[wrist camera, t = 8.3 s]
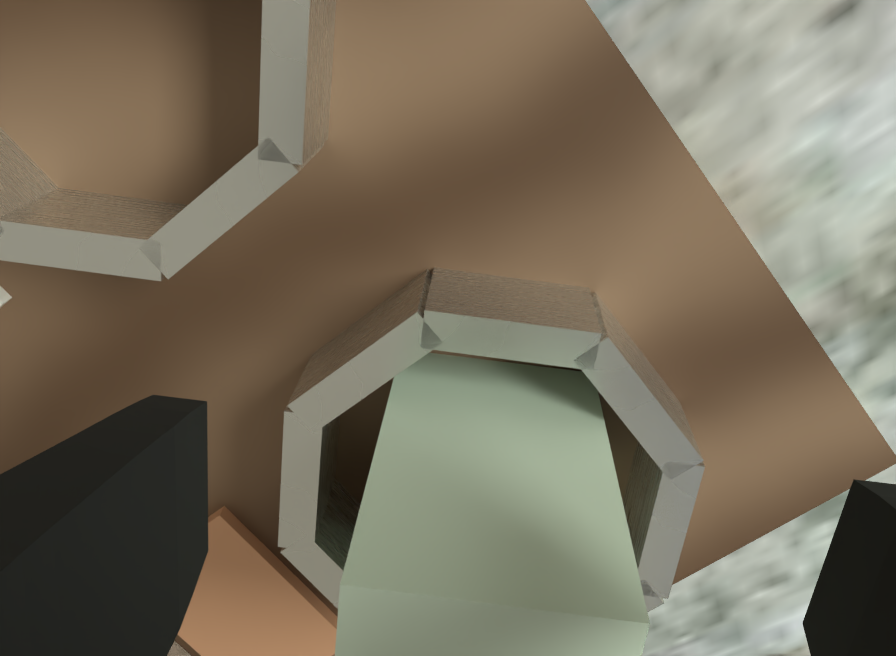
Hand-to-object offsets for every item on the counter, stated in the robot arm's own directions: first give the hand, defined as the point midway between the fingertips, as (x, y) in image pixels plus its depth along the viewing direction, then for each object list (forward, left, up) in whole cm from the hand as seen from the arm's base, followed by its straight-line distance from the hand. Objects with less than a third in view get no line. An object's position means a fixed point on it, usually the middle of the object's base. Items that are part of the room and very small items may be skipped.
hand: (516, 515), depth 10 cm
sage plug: (-5, 0, -10) cm, 11 cm away
